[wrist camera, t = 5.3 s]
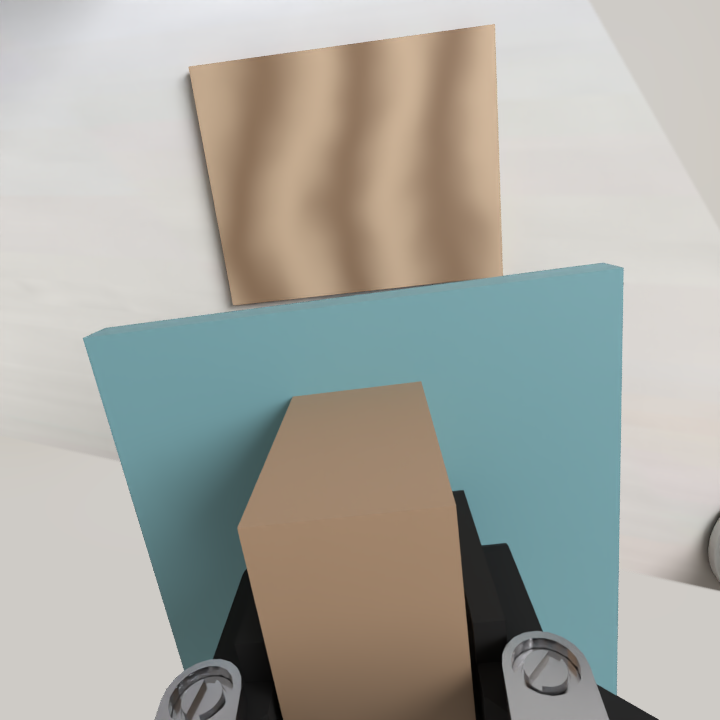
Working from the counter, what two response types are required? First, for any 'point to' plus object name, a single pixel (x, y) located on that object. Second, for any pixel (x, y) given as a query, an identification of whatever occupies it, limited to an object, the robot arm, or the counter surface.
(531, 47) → the counter surface
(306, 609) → the lid
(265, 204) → the wooden board
